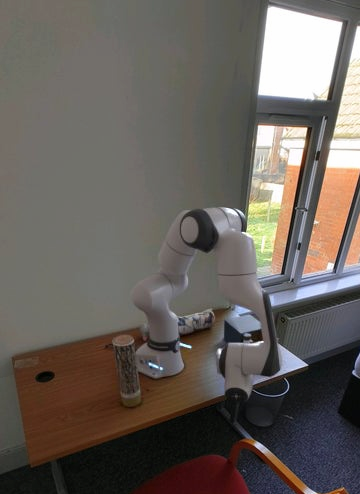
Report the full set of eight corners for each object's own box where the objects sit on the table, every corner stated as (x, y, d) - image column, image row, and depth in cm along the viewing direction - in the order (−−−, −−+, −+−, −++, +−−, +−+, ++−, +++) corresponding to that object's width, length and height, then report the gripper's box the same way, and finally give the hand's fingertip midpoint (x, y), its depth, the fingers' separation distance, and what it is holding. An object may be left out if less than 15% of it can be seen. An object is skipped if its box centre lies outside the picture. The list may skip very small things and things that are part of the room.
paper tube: (143, 396, 129) (135, 334, 116) (139, 408, 123) (131, 345, 110) (124, 395, 129) (115, 334, 117) (120, 407, 123) (109, 344, 111)
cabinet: (265, 347, 155) (267, 327, 150) (239, 353, 151) (240, 333, 146) (248, 333, 167) (249, 314, 162) (223, 338, 163) (224, 319, 158)
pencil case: (176, 340, 164) (175, 321, 159) (168, 333, 171) (167, 314, 166) (216, 329, 172) (217, 310, 167) (207, 322, 179) (207, 304, 174)
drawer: (283, 361, 143) (285, 344, 139) (258, 368, 140) (260, 350, 136) (258, 341, 158) (260, 325, 154) (235, 346, 155) (236, 330, 151)
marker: (240, 367, 135) (242, 335, 128) (242, 363, 137) (244, 332, 130) (247, 368, 134) (249, 337, 127) (249, 365, 136) (251, 334, 129)
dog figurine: (168, 339, 165) (167, 318, 160) (140, 341, 165) (138, 320, 160) (168, 334, 170) (166, 313, 164) (141, 335, 170) (139, 315, 164)
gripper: (274, 363, 117) (276, 343, 128) (213, 357, 122) (219, 338, 133) (272, 379, 120) (274, 358, 131) (212, 372, 125) (219, 352, 136)
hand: (246, 348), depth 132 cm, fingers closed on marker, 2 cm apart
